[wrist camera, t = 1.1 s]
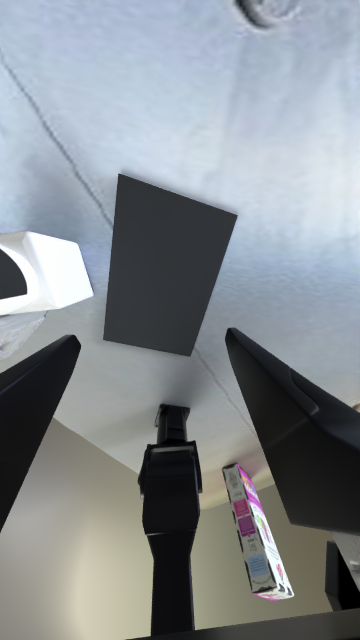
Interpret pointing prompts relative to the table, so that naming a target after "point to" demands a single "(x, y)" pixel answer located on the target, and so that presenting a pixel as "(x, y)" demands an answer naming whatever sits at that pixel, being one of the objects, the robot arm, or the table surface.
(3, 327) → the cassette
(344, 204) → the table surface
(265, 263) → the table surface
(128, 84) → the table surface
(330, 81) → the table surface
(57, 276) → the medicine bottle
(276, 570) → the candy bar box
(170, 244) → the desk mat
